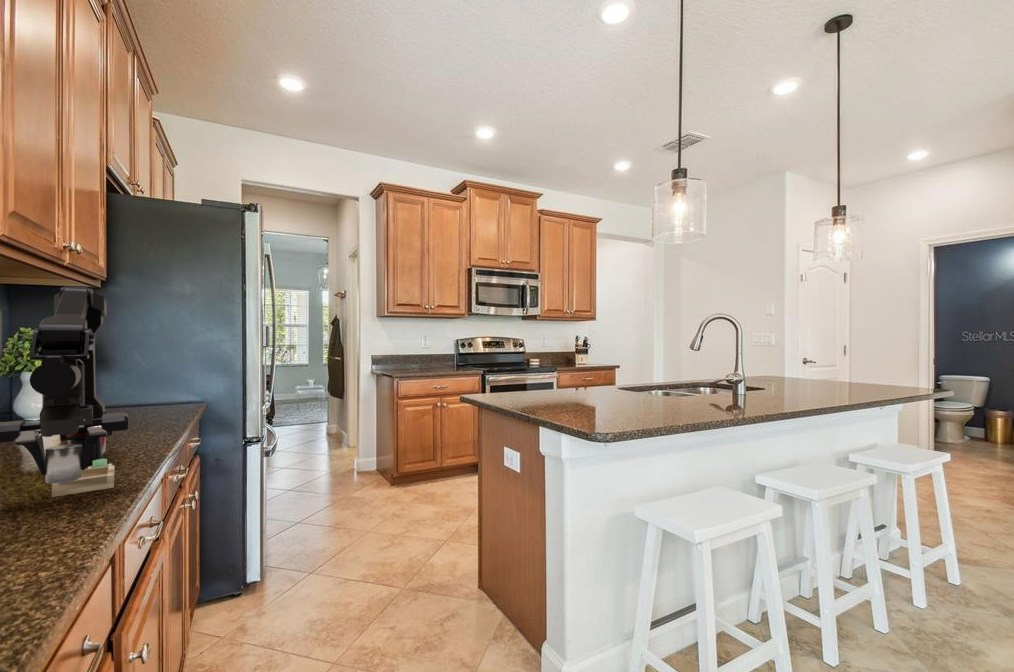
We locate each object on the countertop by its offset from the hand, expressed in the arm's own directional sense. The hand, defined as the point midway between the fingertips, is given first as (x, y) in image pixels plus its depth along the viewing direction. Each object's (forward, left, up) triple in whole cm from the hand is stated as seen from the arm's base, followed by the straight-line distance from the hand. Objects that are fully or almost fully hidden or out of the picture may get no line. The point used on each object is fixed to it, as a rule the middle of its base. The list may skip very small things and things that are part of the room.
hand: (64, 472), depth 87 cm
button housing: (-16, +4, -5) cm, 17 cm away
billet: (0, 0, -1) cm, 1 cm away
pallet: (-8, +2, -5) cm, 10 cm away
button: (-16, +4, -6) cm, 17 cm away
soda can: (-36, +1, -6) cm, 37 cm away
